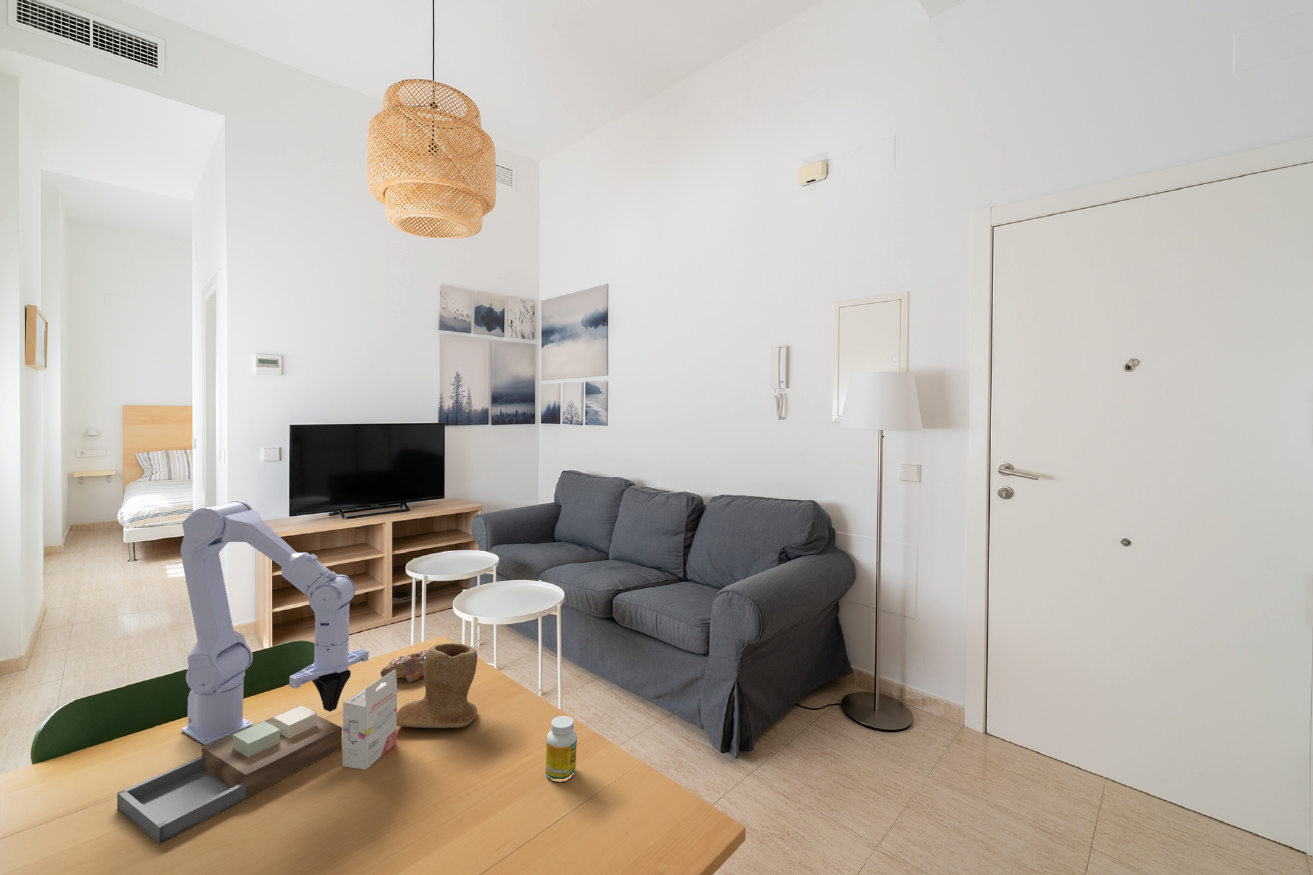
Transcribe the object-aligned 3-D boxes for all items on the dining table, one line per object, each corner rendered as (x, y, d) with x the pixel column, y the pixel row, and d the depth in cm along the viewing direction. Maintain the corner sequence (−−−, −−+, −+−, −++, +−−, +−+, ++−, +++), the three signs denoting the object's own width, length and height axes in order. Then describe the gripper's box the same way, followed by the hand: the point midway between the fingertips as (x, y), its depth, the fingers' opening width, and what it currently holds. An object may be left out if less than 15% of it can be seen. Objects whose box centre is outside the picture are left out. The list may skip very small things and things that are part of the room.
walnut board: (201, 769, 95) (202, 747, 95) (297, 726, 110) (298, 706, 109) (245, 798, 89) (245, 774, 89) (341, 748, 103) (342, 727, 103)
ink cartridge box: (374, 739, 106) (376, 664, 106) (396, 743, 105) (399, 668, 105) (340, 766, 98) (342, 685, 97) (364, 771, 97) (366, 689, 96)
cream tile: (273, 730, 101) (273, 717, 101) (301, 717, 106) (301, 705, 106) (288, 738, 99) (289, 725, 99) (316, 725, 103) (317, 712, 103)
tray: (117, 808, 86) (117, 792, 86) (201, 769, 95) (202, 755, 95) (159, 844, 79) (159, 827, 79) (245, 798, 89) (245, 783, 89)
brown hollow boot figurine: (484, 704, 121) (486, 637, 120) (467, 736, 109) (470, 661, 108) (413, 703, 120) (416, 635, 120) (389, 734, 108) (391, 659, 108)
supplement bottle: (547, 763, 101) (549, 712, 101) (577, 764, 102) (579, 713, 101) (542, 783, 96) (544, 729, 96) (573, 783, 96) (575, 730, 96)
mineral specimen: (410, 685, 125) (398, 657, 125) (386, 697, 127) (374, 670, 127) (444, 662, 136) (432, 637, 137) (421, 674, 138) (410, 649, 139)
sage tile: (232, 748, 95) (232, 734, 95) (264, 734, 100) (264, 721, 100) (248, 757, 93) (248, 743, 93) (279, 742, 98) (280, 729, 97)
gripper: (305, 659, 99) (304, 732, 100) (379, 632, 112) (377, 698, 113) (283, 649, 103) (281, 721, 103) (357, 625, 115) (355, 689, 116)
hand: (330, 708), depth 108 cm, fingers closed
